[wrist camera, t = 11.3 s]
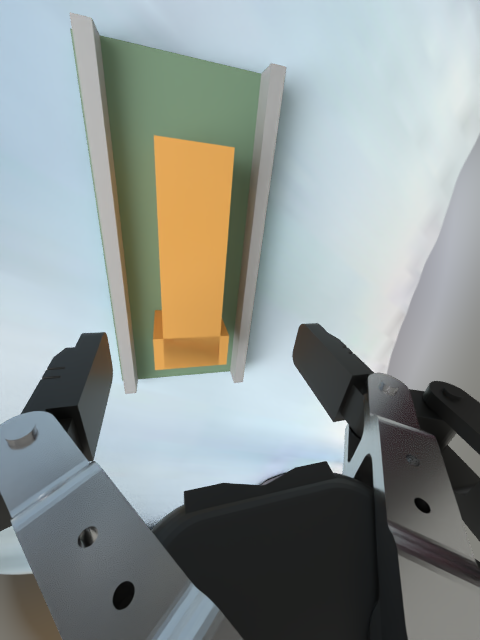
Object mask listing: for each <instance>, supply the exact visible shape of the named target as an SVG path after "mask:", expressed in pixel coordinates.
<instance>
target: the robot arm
mask: <svg viewBox="0 0 480 640" xmlns="http://www.w3.org/2000/svg"><path fill="white" fill-rule="evenodd" d="M293 362H294V364H295V366H296V368H297V369H298V371H299V372H300V373H301V375H302V376H303V378H304V379H305V381H306V382H307V384H308V385H309V387H310V388H311V390H312V391H313V393H314V394H315V396H316V397H317V398H318V400H319V401H320V403H321V404H322V406H323V407H324V409H325V410H326V412H327V413H328V415H329V416H330V418H331V419H332V421H333V422H336V421H342V420H346V421H347V423H348V424H347V426H346V429H345V444H344V463H343V473H342V474H337V473H333V472H332V470H331V469H330V467H329V465H328V463H327V461H325V462H320V463H315V464H311V465H306V466H301V467H296V468H294V469H292V470H291V471H289V472H287V473H285V474H284V475H282V476H280V477H278V478H277V479H275V480H273V481H271V482H270V483H268V484H266V485H247V484H231V483H221V484H216V485H212V486H207V487H202V488H197V489H193V490H188V491H184V505H182V506H180V507H178V508H177V509H175V510H173V511H172V512H171V513H169V514H168V515H166V516H165V517H164V518H163V519H162V520H161V521H159V522H158V523H157V524H156V525H155V526H154V527H153V529H152V530H150V529H149V528H148V526H147V525H146V524H145V523H144V521H143V520H142V519H141V517H140V516H139V515H138V514H137V512H136V511H135V510H134V509H133V507H132V506H131V505H130V503H129V502H128V501H127V500H126V498H125V497H124V496H123V495H122V493H121V492H120V491H119V489H118V488H117V487H116V486H115V484H114V483H113V482H112V480H111V479H110V478H109V477H108V475H107V474H106V473H105V472H104V470H103V469H102V468H101V467H100V465H99V464H98V463H96V462H95V461H93V460H94V456H95V451H96V447H97V443H98V439H99V434H100V430H101V426H102V422H103V417H104V413H105V409H106V405H107V401H108V396H109V392H110V388H111V384H112V377H113V368H112V361H111V355H110V349H109V344H108V338H107V334H106V333H105V332H102V333H83V334H81V336H80V338H79V340H78V342H77V344H76V346H75V347H74V348H65V349H64V350H62V351H61V352H60V353H59V354H57V355H56V356H55V357H54V358H53V359H52V361H51V363H50V364H49V366H48V368H47V370H46V371H45V373H44V375H43V377H42V380H40V382H39V383H38V385H37V387H36V389H35V390H34V392H33V394H32V396H31V397H30V399H29V401H28V403H27V404H26V406H25V408H24V409H23V411H22V413H21V415H18V416H15V417H13V418H11V419H9V420H7V421H5V422H4V423H2V424H1V425H0V531H2V530H4V529H6V528H8V527H10V526H13V529H14V531H15V533H16V536H17V538H18V540H19V542H20V545H21V547H22V549H23V551H24V554H25V556H26V558H27V560H28V563H29V565H30V567H31V569H32V572H33V574H34V576H35V578H36V581H37V583H38V585H39V587H40V590H41V592H42V594H43V597H44V599H45V601H46V603H47V606H48V608H49V610H50V612H51V615H52V617H53V619H54V621H55V624H56V626H57V628H58V630H59V633H60V635H61V637H62V639H63V640H480V562H479V561H478V560H476V559H475V558H474V555H473V552H472V549H471V546H470V543H469V540H468V537H467V533H466V530H465V527H464V524H463V521H464V522H465V524H466V525H467V526H468V528H469V529H470V530H471V531H472V533H473V534H474V535H475V536H476V537H477V539H478V540H479V541H480V478H479V477H478V476H477V475H476V474H475V473H474V472H473V470H472V469H471V468H470V467H468V465H467V464H466V463H465V462H464V461H463V460H462V459H461V458H460V457H459V456H458V455H457V454H456V453H455V452H454V451H453V450H452V449H451V448H450V447H449V446H448V444H449V442H450V441H451V440H452V438H453V437H454V436H455V434H456V433H457V434H458V435H459V436H461V437H462V438H463V439H464V440H465V441H466V442H467V443H468V444H469V445H470V446H471V447H472V448H473V449H474V450H475V451H477V453H478V454H480V403H479V402H478V401H476V400H475V399H474V398H473V397H471V396H470V395H469V394H467V393H466V392H465V391H463V390H462V389H460V388H458V387H456V386H454V385H451V384H448V383H445V382H441V381H434V382H431V383H430V384H429V386H428V387H427V389H426V391H425V392H424V391H417V390H410V389H408V387H407V386H406V385H405V384H404V383H402V382H401V381H400V380H398V379H396V378H394V377H392V376H390V375H387V374H383V373H374V372H373V371H372V370H371V369H370V368H369V367H368V366H366V365H365V364H364V363H363V362H362V361H361V360H360V359H359V358H358V357H357V356H356V355H355V354H353V352H352V351H351V350H350V349H349V348H347V347H346V345H345V344H344V343H342V342H341V341H340V340H339V339H338V338H336V337H334V336H333V335H331V334H329V333H328V332H327V331H326V330H325V329H324V328H323V327H322V326H321V325H319V324H318V323H313V324H301V325H300V326H299V329H298V333H297V337H296V341H295V345H294V349H293ZM89 461H93V462H91V463H90V462H89ZM462 520H463V521H462Z"/></svg>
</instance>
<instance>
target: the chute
mask: <svg viewBox="0 0 480 640" xmlns="http://www.w3.org/2000/svg"><path fill="white" fill-rule="evenodd" d="M234 150H235V147H228V146H222V145H215V144H209V143H202V142H196V141H189V140H182V139H176V138H169V137H163V136H156V135H154V152H155V174H156V195H157V217H158V238H159V260H160V281H161V303H162V310H155V316H154V331H153V347H154V362H155V370H163V369H175V368H188V367H200V366H213V365H225V364H227V353H228V343H229V334H228V331H227V329H226V327H225V324H224V322H223V319H222V307H223V294H224V281H225V268H226V255H227V242H228V229H229V215H230V202H231V189H232V176H233V163H234Z"/></svg>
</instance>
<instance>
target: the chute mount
mask: <svg viewBox="0 0 480 640" xmlns="http://www.w3.org/2000/svg"><path fill="white" fill-rule="evenodd" d="M70 19H71V26H72V29H71V36H72V43H73V50H74V56H75V63H76V70H77V77H78V83H79V90H80V97H81V104H82V110H83V117H84V124H85V131H86V137H87V144H88V151H89V158H90V164H91V171H92V178H93V185H94V191H95V198H96V205H97V212H98V218H99V225H100V232H101V239H102V245H103V252H104V259H105V266H106V272H107V279H108V286H109V293H110V299H111V306H112V313H113V320H114V326H115V333H116V340H117V347H118V353H119V360H120V367H121V374H122V380H123V381H124V388H125V394H129V393H136V391H137V383H138V379H146V378H158V377H169V376H180V375H191V374H203V373H214V372H225V371H230V372H231V375H232V378H233V381H234V383H238V382H243V377H244V370H245V363H246V356H247V348H248V341H249V334H250V327H251V320H252V312H253V305H254V298H255V291H256V283H257V276H258V269H259V262H260V254H261V247H262V240H263V233H264V225H265V218H266V211H267V204H268V196H269V189H270V182H271V175H272V167H273V160H274V153H275V146H276V138H277V131H278V124H279V117H280V109H281V102H282V95H283V88H284V80H285V73H286V67H285V66H281V65H277V64H273V63H271V64H270V65H269V66H268V67H267V69H266V70H265V71H264V72H263V73H262V74H260V73H256V72H252V71H247V70H243V69H239V68H235V67H231V66H226V65H222V64H218V63H214V62H209V61H205V60H201V59H197V58H193V57H188V56H184V55H180V54H176V53H172V52H167V51H163V50H159V49H155V48H150V47H146V46H142V45H138V44H134V43H129V42H125V41H121V40H117V39H113V38H108V37H104V36H100V35H99V33H98V31H97V28H96V26H95V24H94V22H93V20H92V18H90V17H86V16H82V15H78V14H74V13H70ZM154 135H156V136H163V137H169V138H176V139H182V140H189V141H196V142H202V143H209V144H215V145H222V146H228V147H235V150H234V163H233V176H232V189H231V202H230V215H229V229H228V242H227V255H226V268H225V281H224V294H223V307H222V319H223V322H224V324H225V327H226V329H227V331H228V334H229V343H228V353H227V364H225V365H213V366H200V367H188V368H175V369H163V370H155V362H154V347H153V331H154V316H155V310H162V303H161V281H160V260H159V238H158V217H157V195H156V174H155V152H154Z"/></svg>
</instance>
